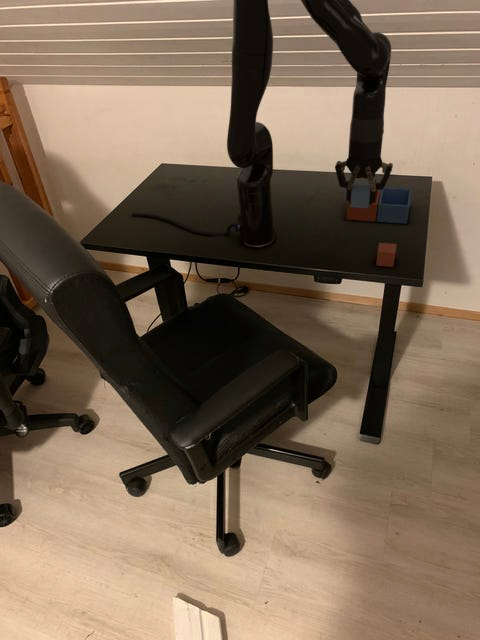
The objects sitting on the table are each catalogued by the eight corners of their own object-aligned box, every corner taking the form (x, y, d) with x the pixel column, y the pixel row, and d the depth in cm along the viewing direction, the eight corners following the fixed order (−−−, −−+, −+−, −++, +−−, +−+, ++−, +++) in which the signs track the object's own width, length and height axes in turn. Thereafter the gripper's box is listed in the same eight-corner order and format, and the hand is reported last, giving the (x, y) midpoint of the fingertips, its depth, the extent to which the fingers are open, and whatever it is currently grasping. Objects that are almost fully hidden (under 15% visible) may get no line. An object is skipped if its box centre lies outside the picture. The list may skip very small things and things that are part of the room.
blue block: (350, 207, 118) (351, 191, 115) (353, 199, 121) (354, 183, 118) (368, 208, 117) (369, 192, 114) (370, 200, 120) (371, 184, 117)
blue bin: (376, 221, 140) (378, 204, 136) (380, 204, 148) (381, 187, 144) (406, 223, 137) (409, 206, 134) (409, 205, 145) (411, 189, 142)
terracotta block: (376, 265, 123) (377, 251, 120) (377, 256, 126) (379, 242, 123) (393, 267, 122) (395, 253, 119) (394, 257, 125) (396, 243, 122)
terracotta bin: (346, 219, 143) (347, 202, 139) (351, 202, 150) (352, 186, 147) (375, 221, 140) (377, 204, 136) (379, 204, 148) (380, 187, 144)
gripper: (332, 140, 107) (329, 207, 118) (396, 142, 103) (388, 211, 114) (337, 128, 112) (335, 194, 123) (399, 129, 108) (391, 197, 119)
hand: (360, 202), depth 118 cm, fingers closed on blue block, 4 cm apart
